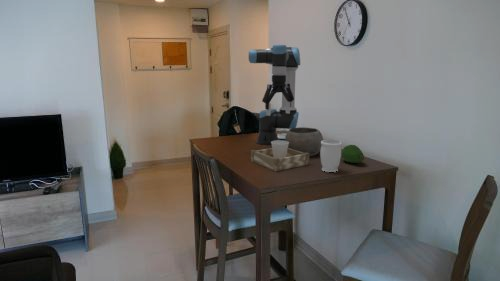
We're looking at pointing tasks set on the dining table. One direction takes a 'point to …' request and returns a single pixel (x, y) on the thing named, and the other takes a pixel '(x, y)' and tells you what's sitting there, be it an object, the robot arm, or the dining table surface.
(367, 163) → the dining table surface
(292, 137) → the bowl
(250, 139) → the dining table surface
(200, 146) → the dining table surface
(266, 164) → the crate
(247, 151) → the dining table surface
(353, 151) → the fruit
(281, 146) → the cup
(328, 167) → the jar
